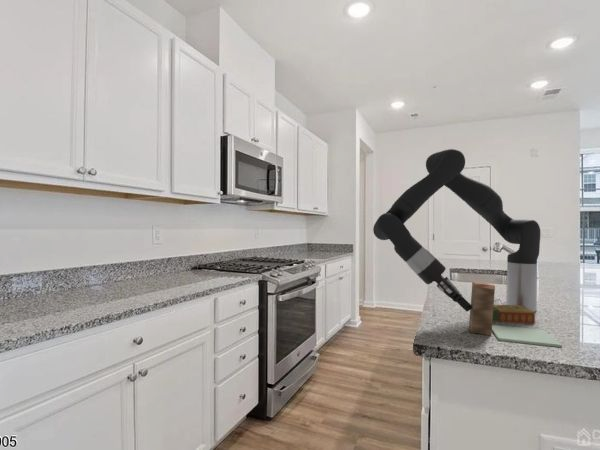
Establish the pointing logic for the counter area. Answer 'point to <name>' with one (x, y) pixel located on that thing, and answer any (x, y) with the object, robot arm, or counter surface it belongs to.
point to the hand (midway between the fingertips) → (469, 309)
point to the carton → (513, 314)
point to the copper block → (482, 307)
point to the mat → (524, 335)
